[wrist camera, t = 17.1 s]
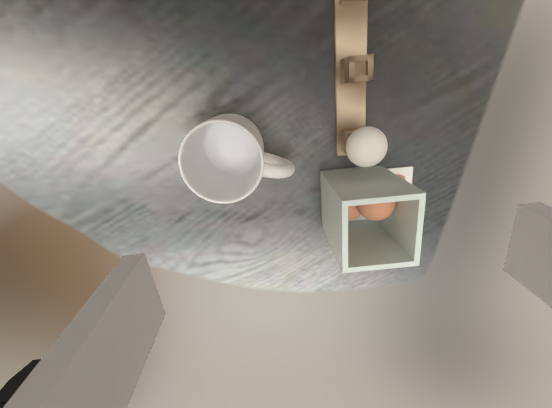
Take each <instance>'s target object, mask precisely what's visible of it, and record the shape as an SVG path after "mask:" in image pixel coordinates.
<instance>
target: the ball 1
mask: <svg viewBox="0 0 552 408" xmlns="http://www.w3.org/2000/svg"><path fill="white" fill-rule="evenodd" d="M360 216H361V214H360V213H359V211H358V209H357V206H348V221H352V220H355V219H357V218H358V217H360Z"/></svg>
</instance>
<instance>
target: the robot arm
mask: <svg viewBox="0 0 552 408" xmlns="http://www.w3.org/2000/svg"><path fill="white" fill-rule="evenodd" d="M503 270H504V271H505V272H506V273H507V274H509V275H510V276H511V277H513V278H514V279H515V280H516V281H518V282H519V283H521V284H522V285H523V286H524V287H525V288H527V289H528V290H529V291H531V292H532V293H533V294H534V295H536V296H537V297H538V298H540V299H541V300H542V301H543V302H545V303H546V304H547V305H548V306H550V307H551V308H552V207H550V206H548V205H545V204H543V203H541V202H536V203H528V204H520V205H517V210H516V214H515V219H514V223H513V228H512V232H511V237H510V242H509V246H508V250H507V255H506V260H505V264H504V269H503ZM164 316H165V311H164V308H163V305H162V302H161V299H160V296H159V294H158V291H157V288H156V285H155V282H154V280H153V276H152V274H151V271H150V268H149V265H148V262H147V259H146V256H145V254H136V255H128V256H123V257H122V258H121V259H120V260H119V262H118V263H117V264H116V265H115V267H114V268H113V269H112V270H111V272H110V273H109V274H108V276H107V277H106V278H105V279H104V281H103V282H102V283H101V284H100V286H99V287H98V288H97V290H96V291H95V292H94V293H93V295H92V296H91V297H90V298H89V300H88V301H87V302H86V303H85V305H84V306H83V307H82V308H81V310H80V311H79V312H78V313H77V315H76V316H75V317H74V318H73V320H72V321H71V322H70V324H69V325H68V326H67V327H66V329H65V330H64V331H63V332H62V334H61V335H60V336H59V337H58V339H57V340H56V341H55V342H54V344H53V345H52V346H51V348H50V349H49V350H48V351H47V353H46V354H45V355H44V356H43V358H42V359H39V360H33V361H31V362H30V363H29V364H28V365H27V366H25V367H24V368H23V369H22V370H21V371H19V372H18V373H17V374H16V375H15V376H13V377H12V378H11V379H10V380H9V381H8V382H7V383H6V384H5V385H4V387H3V388H2V389H1V390H0V408H127V406H128V404H129V402H130V399H131V396H132V394H133V392H134V389H135V387H136V384H137V382H138V379H139V377H140V375H141V372H142V370H143V367H144V365H145V363H146V360H147V358H148V355H149V353H150V350H151V348H152V346H153V343H154V341H155V338H156V336H157V333H158V331H159V328H160V326H161V324H162V321H163V319H164Z"/></svg>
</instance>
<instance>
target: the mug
mask: <svg viewBox="0 0 552 408" xmlns="http://www.w3.org/2000/svg"><path fill="white" fill-rule="evenodd" d="M178 165H179V170H180V173H181V176H182V178H183V180H184V182H185V183H186V185H187V186H188V187H189V188H190V189H191V190H192V191H193V192H194V193H195V194H196V195H198V196H199V197H201V198H203V199H205V200H207V201H210V202H214V203H222V204H225V203H233V202H237V201H239V200H242V199H244V198H245V197H247V196H248V195H250V194H251V193H252V192H253V191H254V190H255V189H256V187H257V186H258V184H259V182H260V180H261V178H262V177H267V178H287V177H290V176H291V175H292V174H293V173H294V171H295V167H294V165H293V164H292V163H291V162H290V161H289V160H287V159H285V158H283V157H280V156H277V155H274V154H270V153H266V152H264V144H263V139H262V136H261V133H260V132H259V130H258V128H257V127H256V126H255V125H254V123H252V122H251V121H250V120H249V119H247V118H245V117H243V116H241V115H237V114H221V115H218V116H215V117H213V118H211V119H209V120H207V121H205V122H203V123H201V124H199V125H197V126H195V127H194V128H193V129H191V130H190V131H189V132H188V133H187V135H186V136H185V137H184V139H183V141H182V143H181V145H180V148H179V153H178Z"/></svg>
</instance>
